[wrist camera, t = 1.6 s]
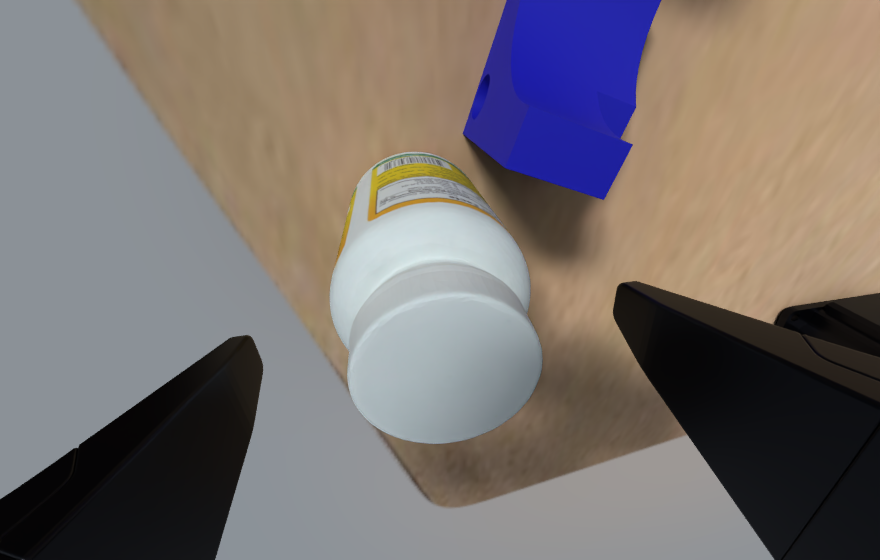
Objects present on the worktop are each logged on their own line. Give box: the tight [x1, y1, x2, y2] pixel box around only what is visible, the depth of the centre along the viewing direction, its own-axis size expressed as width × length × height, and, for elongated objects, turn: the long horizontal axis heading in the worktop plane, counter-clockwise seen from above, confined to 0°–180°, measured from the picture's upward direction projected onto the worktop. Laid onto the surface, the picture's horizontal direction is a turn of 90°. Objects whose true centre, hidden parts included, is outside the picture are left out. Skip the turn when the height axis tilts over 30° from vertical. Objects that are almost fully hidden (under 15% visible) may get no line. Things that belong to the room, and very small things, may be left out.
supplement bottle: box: [330, 152, 543, 444], centre depth 12 cm, size 5×5×10 cm
